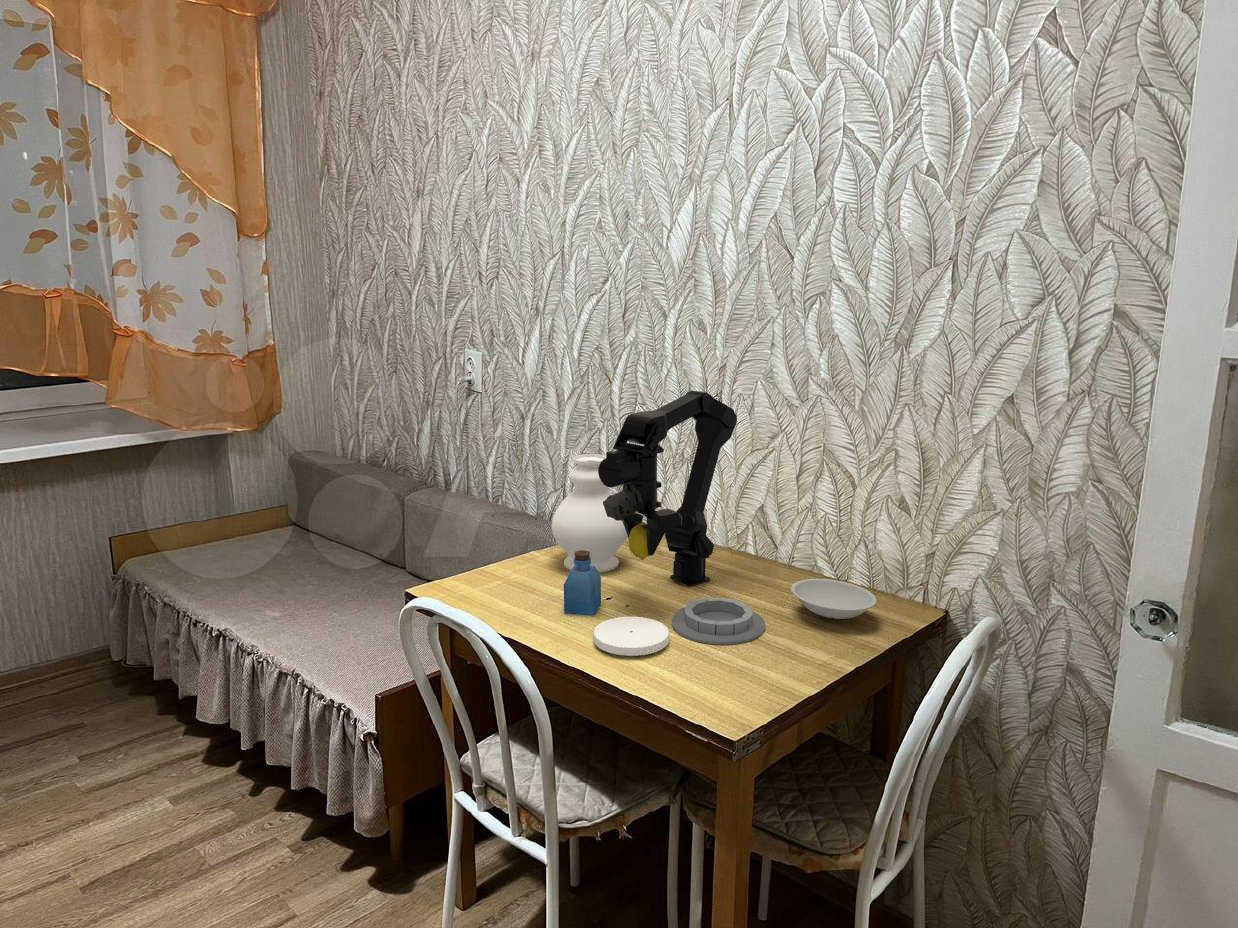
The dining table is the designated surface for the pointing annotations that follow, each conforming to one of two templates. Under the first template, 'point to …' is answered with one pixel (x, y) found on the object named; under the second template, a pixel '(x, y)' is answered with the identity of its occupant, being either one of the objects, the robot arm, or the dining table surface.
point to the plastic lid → (631, 636)
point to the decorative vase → (588, 518)
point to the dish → (833, 598)
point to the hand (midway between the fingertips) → (642, 551)
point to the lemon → (638, 541)
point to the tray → (718, 639)
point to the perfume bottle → (582, 587)
